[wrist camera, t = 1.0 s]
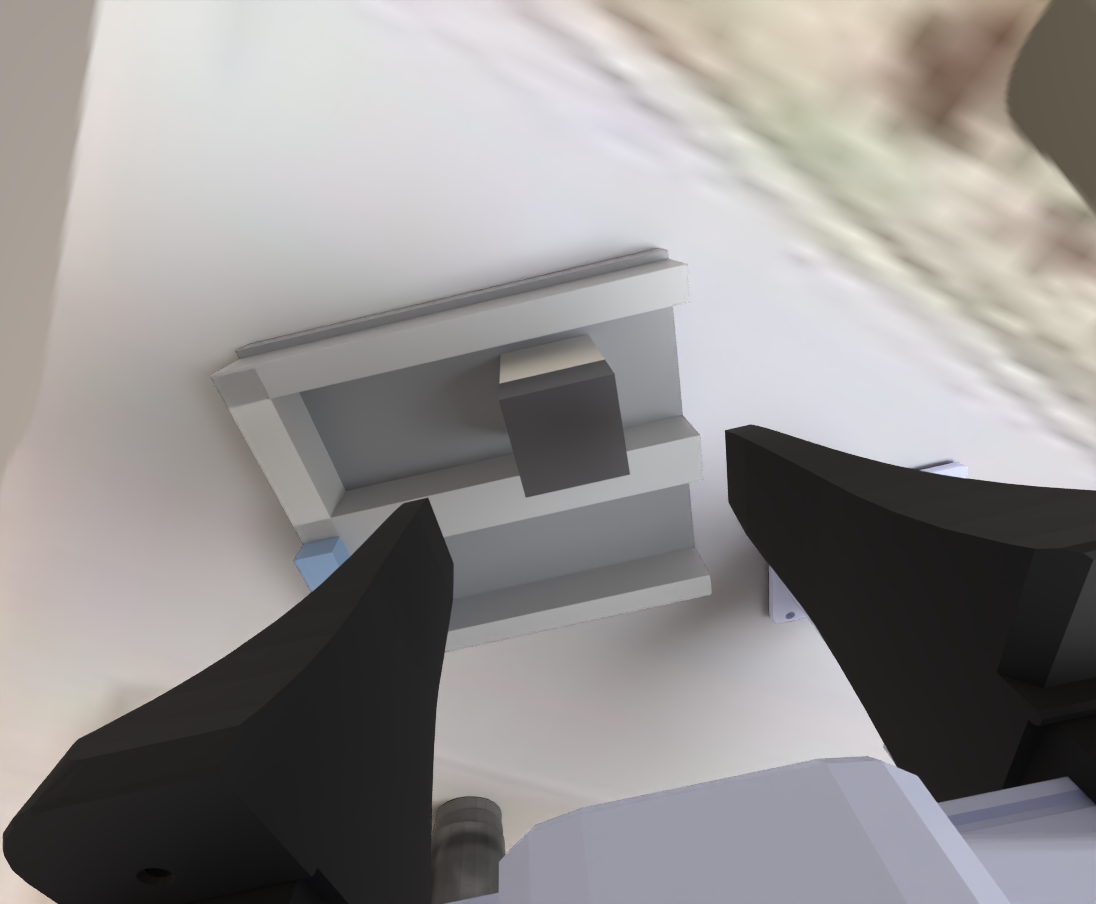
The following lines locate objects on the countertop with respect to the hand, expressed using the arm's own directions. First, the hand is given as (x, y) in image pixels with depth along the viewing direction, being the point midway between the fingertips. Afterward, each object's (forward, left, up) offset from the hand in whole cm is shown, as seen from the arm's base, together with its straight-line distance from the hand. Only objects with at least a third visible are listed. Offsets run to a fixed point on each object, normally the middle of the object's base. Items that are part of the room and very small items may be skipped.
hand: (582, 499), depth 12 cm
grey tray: (+3, +3, -9) cm, 10 cm away
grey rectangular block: (0, 0, -8) cm, 8 cm away
